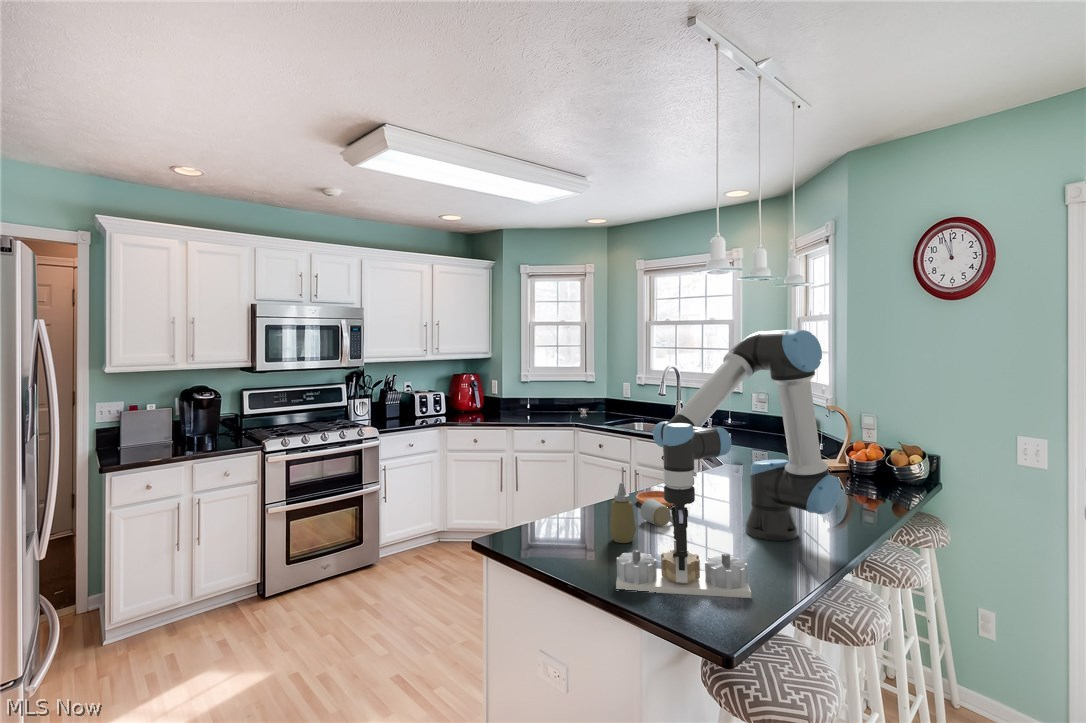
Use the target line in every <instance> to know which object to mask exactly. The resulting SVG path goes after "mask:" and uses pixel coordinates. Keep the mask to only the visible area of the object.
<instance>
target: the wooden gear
mask: <svg viewBox="0 0 1086 723" xmlns="http://www.w3.org/2000/svg"><path fill="white" fill-rule="evenodd" d="M673 554H676V551H675V550H674V549H670V550H669V551H667V552H662V553H661V554H660V558H661V559H660V563H661V567H660V569H661V571H662V576H663V577H667V578H669V579H671V581H674V582H676V557H674V556H673ZM687 554H688V557H687V578H688V582H691V580H694V579H699V578H700V571H701V561H700V556H699V555H698V554H696V553H691V552H689V550H687Z"/></svg>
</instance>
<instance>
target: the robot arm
mask: <svg viewBox="0 0 1086 723" xmlns="http://www.w3.org/2000/svg"><path fill="white" fill-rule="evenodd" d="M722 359H723V363H722V364H721V365H719V367H718V368H717V369H716V370H715V371H714V372H713V374H711V375H710V377H709V378H708V379H706V381H705V382H704V383H703V384H702V385H701V386H700V387H699V389H698V390H697V391H696V392H695V393H694V394H693V395H692V396H691V398H689V400H688V401H687V402H686V403H685V404H684V405H683V406H682V407H681V408H680V409H679V410H678V412H677V413H676V414H675V415H674V416H673V417H672V418H671V419H670V420H668V421H667V420H666V421H660V422H658V423H657V424H656V425H655V427H654V429H653V431H652V434H653V435H652V436H653V441H654V443H655V444H656V445H657V446H659V447H661V448H662V452H663V453H662V454H663V455H662V456H663V469H662V470H663V473H662V474H663V484H664V487H663V491H664V499H665V501H666V502H668V503H673V504H674V506H672V507H670V509H671V511H670V513H671V516H672V520H673V522H672V527H673V531H672V532H673V550H675V551H676V554H673V556H674V557H676V582H680V583H688V578H687V557H688V554H687V551H688V539H687V538H688V536H687V534H688V533H687V529H688V526H689V525H688V518H689V510H688V507H687V506H685V505H690V504H693V503H694V502H695V500H696V494H695V492H696V491H695V490H696V489H695V487H694V485H695V477H697V475H698V474H697V472H695V461H697V460H704V459H711V458H718V457H721V456H725V455H727V454H728V453H729V452H730V451H731V448H732V438H731V435H730V433H729V432H728V431H727V430H726V429H725V428H724V427H720V426H719V427H715V426H711V427H703V426H704V424H705V423H706V422H707V421H708V420H709V419H710V418H711V416H713V415H714V413H715V412H716V411H717V410H718V409H719V408H720V406H721V405H722V404H724V402H725V401H726V400H727V399H728V397H729V396H731V394H732V393H733V392H734V391H735V389H736V388H737V387H738V386H739V385H740V384H741V383H742V381H744V380H747V379H750V378H751V376H753V374H754V373H756V372H759V371H769V373H770V374H769V375H770V379H771V380H772V381H773V382H774V383H775V384H777V389H778V395H779V401H780V402H779V403H780V408H781V414H782V422H783V427H784V435H785V439H786V441H785V442H786V448H787V454H788V459H780V458H779V459H778V458H777V459H775V458H774V459H762V460H757V461H754V462H752V463H751V465H750V466H751V467H750V475H749V476H750V502H751V503H750V507H751V508H750V509H749V514H748V516H747V520H746V521H745V522H746V523H745V532H746V533H747V534H748V535H750V536H752V537H754V538H756V539H761V540H765V541H773V542H783V541H784V542H785V541H790V540H795V539H796V538H797V537H798V526H797V524H796V522H795V519H794V514H793V512H792V508H795V509H798V510H802V511H805V512H808V513H809V514H817V515H826V514H829V513H830V512H832V510H834V508H835V507H836V505H837V503H838V502H839V500H840V496H841V488H842V487H841V481H840V480H839V479H838V478H837V476H834V475H832V474H830V470H829V464H828V463H827V462H825V461H824V460H823V459H822V455H821V448H820V442H819V441H820V440H819V434H818V426H817V419H816V413H815V412H816V411H815V406H814V398H813V392H812V384H811V380H812V379H813V378H814V376H815V375H816V370H817V369H819V367H820V365H821V363H822V361H821V360H822V359H823V349H822V345H821V343H820V342H819V340H818V338H817V337H816V335H814V334H813V333H812V332H811V331H809V330H805V329H796V328H793V329H792V328H791V329H780V330H779V329H777V330H761V331H756V332H754V333H752V334H750V335H747V337H745V338H743V339H742V340H740V341H739V342H738V343H737V344H735V345H734V346H733V347H732V348H731V349H730V350H729V351H728V352H727V353H726V354H725V355H724V356H723V358H722ZM679 551H684V552H679Z"/></svg>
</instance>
